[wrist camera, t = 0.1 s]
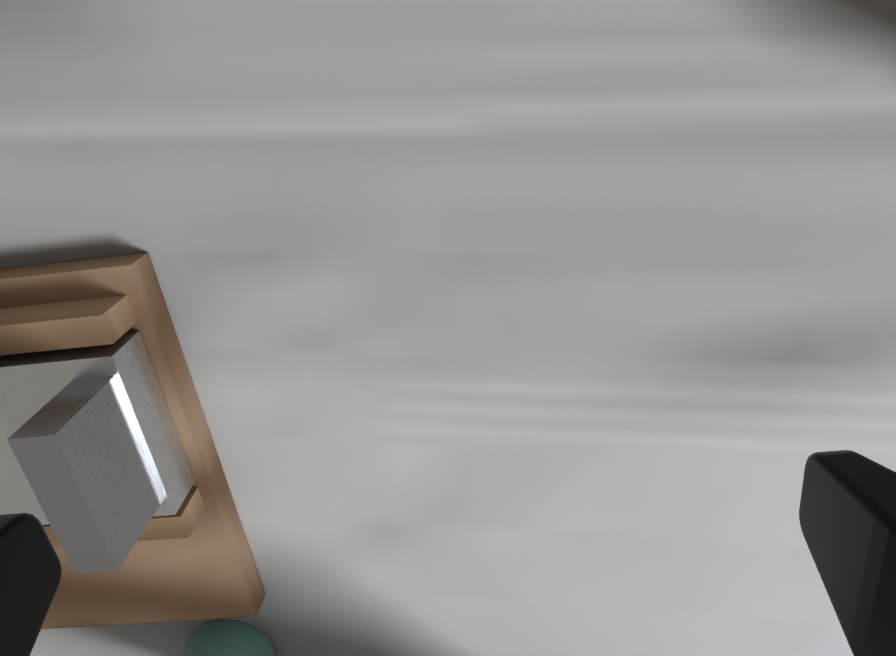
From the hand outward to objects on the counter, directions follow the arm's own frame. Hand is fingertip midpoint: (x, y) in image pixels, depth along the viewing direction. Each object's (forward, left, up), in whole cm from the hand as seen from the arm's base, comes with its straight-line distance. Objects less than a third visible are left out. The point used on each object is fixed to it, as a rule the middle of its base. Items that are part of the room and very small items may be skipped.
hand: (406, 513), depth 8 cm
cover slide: (-6, +15, -13) cm, 21 cm away
